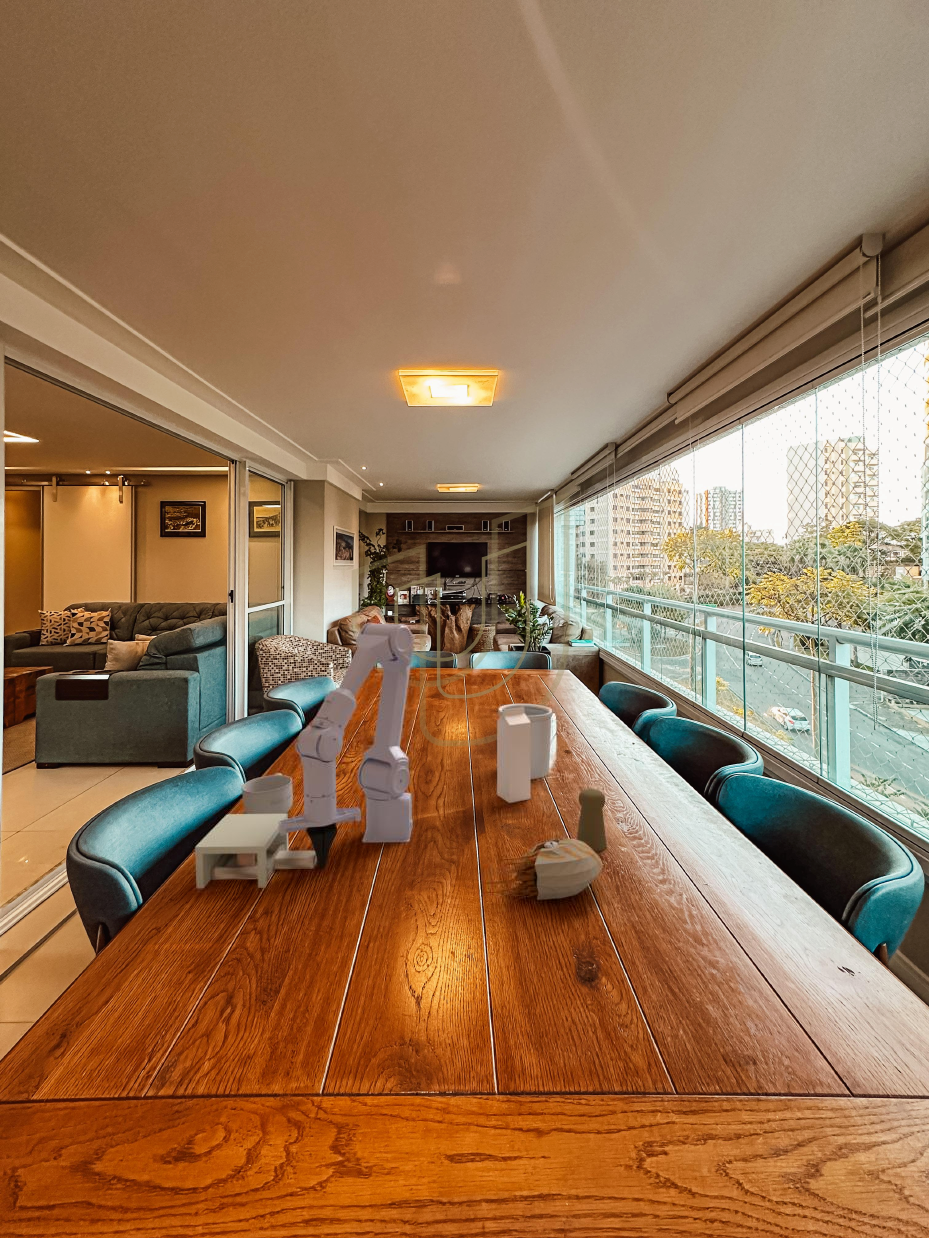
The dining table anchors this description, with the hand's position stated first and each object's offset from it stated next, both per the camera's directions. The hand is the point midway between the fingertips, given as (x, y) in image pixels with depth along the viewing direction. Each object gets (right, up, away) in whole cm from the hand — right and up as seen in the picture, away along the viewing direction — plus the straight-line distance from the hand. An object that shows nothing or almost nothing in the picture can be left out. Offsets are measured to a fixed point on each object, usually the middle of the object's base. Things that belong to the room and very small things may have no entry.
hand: (321, 864), depth 108 cm
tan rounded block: (-13, -1, -2) cm, 13 cm away
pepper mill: (+52, 0, +10) cm, 53 cm away
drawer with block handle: (-10, -1, +1) cm, 10 cm away
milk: (+38, +1, +36) cm, 52 cm away
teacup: (-18, 0, +26) cm, 31 cm away
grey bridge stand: (-14, -1, 0) cm, 14 cm away
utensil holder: (+43, +3, +55) cm, 70 cm away
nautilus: (+40, -2, -7) cm, 40 cm away
